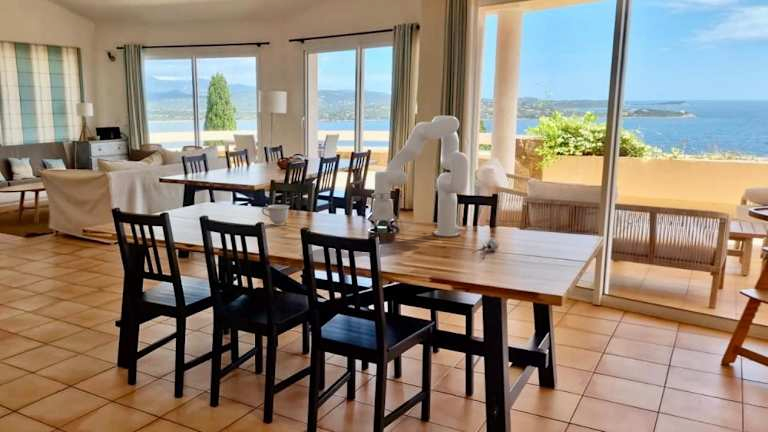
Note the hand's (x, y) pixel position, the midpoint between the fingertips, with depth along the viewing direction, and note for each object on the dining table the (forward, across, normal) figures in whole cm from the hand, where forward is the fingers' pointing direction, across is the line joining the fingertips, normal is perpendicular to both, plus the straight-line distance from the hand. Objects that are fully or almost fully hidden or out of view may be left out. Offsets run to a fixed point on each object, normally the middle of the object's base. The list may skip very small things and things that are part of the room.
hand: (382, 233), depth 279 cm
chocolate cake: (+4, +5, +20) cm, 21 cm away
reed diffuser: (+4, +44, -29) cm, 53 cm away
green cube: (+1, 0, 0) cm, 1 cm away
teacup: (+3, -55, +40) cm, 68 cm away
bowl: (+3, 0, 0) cm, 3 cm away
